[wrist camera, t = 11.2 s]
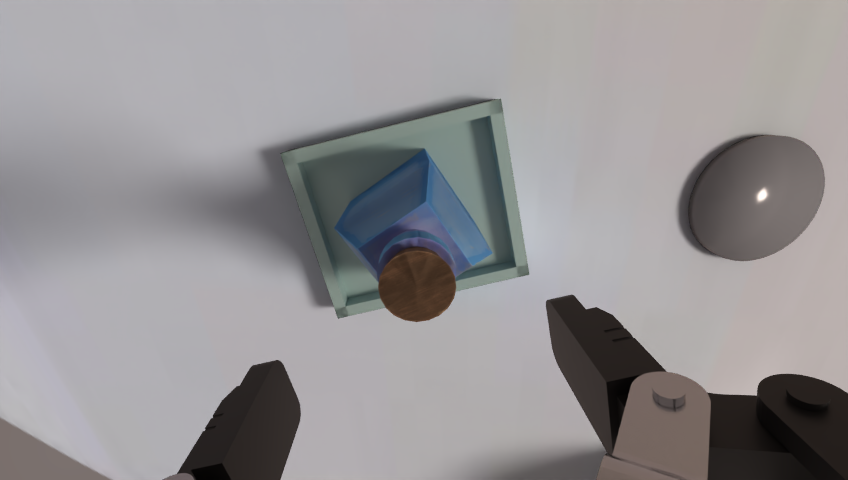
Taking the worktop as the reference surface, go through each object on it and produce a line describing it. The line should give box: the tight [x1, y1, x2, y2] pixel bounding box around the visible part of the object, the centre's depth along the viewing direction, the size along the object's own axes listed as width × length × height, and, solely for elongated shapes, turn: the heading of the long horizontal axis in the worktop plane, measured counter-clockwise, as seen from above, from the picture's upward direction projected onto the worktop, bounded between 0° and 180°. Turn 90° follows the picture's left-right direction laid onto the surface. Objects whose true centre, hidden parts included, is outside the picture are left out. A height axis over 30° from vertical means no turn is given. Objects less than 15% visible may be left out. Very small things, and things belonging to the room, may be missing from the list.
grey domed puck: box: [689, 135, 825, 261], centre depth 28 cm, size 9×9×1 cm
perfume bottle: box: [334, 148, 493, 322], centre depth 22 cm, size 6×6×12 cm
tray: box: [281, 99, 529, 318], centre depth 27 cm, size 12×14×2 cm
